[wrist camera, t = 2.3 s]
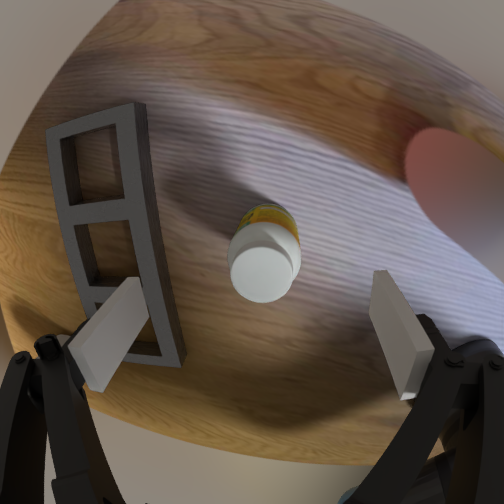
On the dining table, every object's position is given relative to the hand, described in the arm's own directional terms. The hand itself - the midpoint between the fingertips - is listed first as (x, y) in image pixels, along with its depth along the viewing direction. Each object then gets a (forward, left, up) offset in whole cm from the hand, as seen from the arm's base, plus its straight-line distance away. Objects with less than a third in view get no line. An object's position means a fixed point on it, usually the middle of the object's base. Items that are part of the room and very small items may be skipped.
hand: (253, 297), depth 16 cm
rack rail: (+16, +1, -13) cm, 20 cm away
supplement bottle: (0, 0, -13) cm, 13 cm away
